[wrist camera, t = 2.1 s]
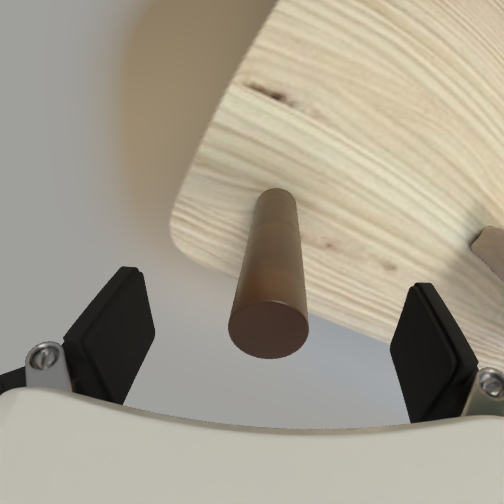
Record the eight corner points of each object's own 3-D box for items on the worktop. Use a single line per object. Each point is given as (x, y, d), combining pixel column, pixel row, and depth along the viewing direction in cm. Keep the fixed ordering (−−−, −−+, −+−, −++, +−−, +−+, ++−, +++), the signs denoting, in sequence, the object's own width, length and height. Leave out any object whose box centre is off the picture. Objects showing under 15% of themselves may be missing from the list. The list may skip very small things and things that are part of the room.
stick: (248, 206, 19) (211, 328, 9) (277, 179, 18) (270, 285, 8) (275, 232, 19) (265, 369, 10) (304, 208, 18) (324, 334, 9)
